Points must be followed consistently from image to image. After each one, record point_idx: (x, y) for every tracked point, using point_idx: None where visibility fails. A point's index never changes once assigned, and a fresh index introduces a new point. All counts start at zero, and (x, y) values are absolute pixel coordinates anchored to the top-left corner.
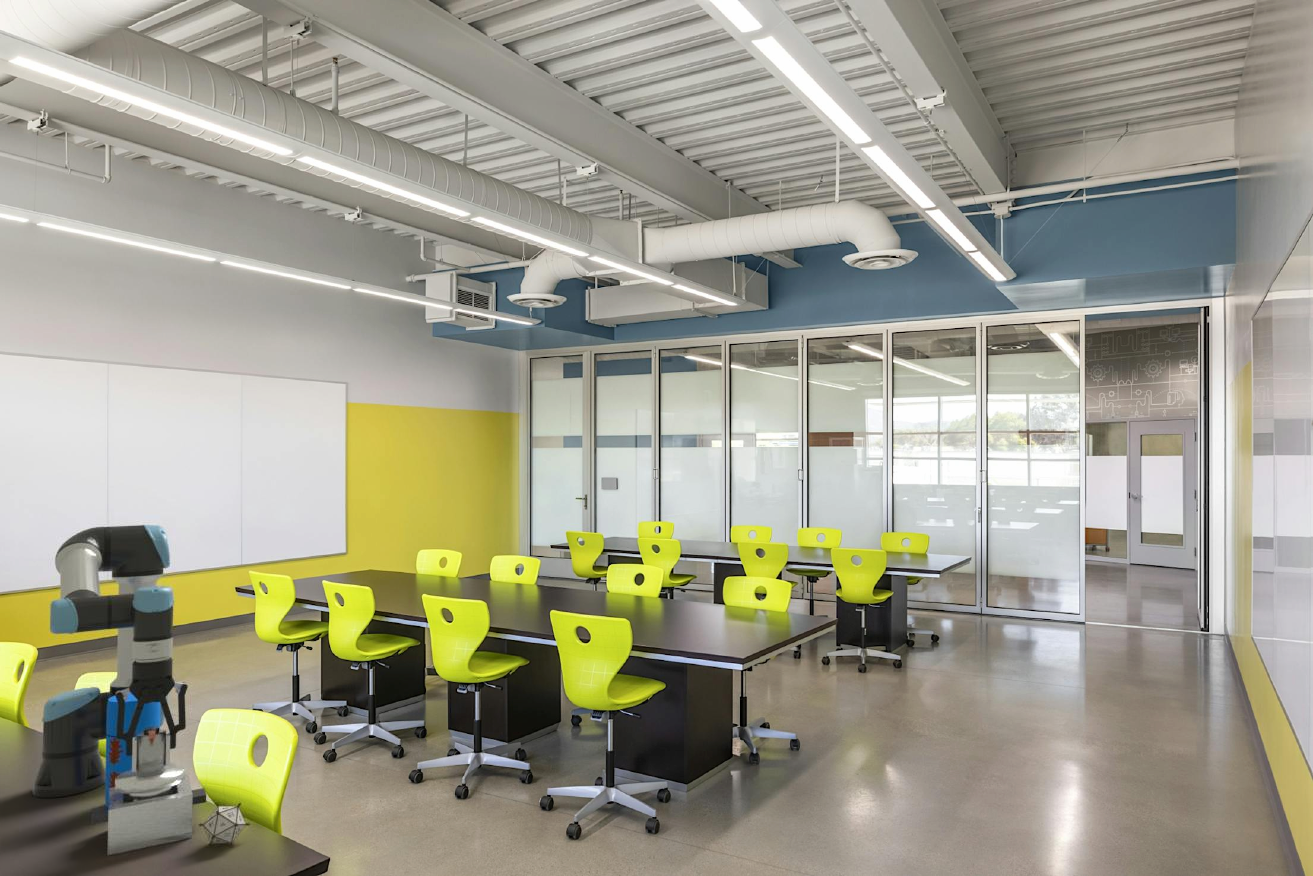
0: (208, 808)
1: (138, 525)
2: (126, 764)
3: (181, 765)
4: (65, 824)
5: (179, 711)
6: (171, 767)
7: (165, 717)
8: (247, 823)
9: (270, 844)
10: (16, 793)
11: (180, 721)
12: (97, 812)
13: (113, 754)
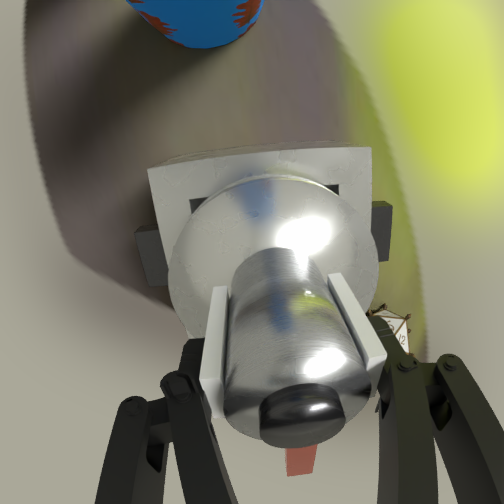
0: (372, 125)
1: None
2: (171, 8)
3: (372, 249)
4: (92, 85)
5: (449, 470)
6: (342, 257)
7: (380, 478)
8: (408, 332)
9: (412, 340)
10: None
11: (435, 427)
12: (154, 266)
13: None
